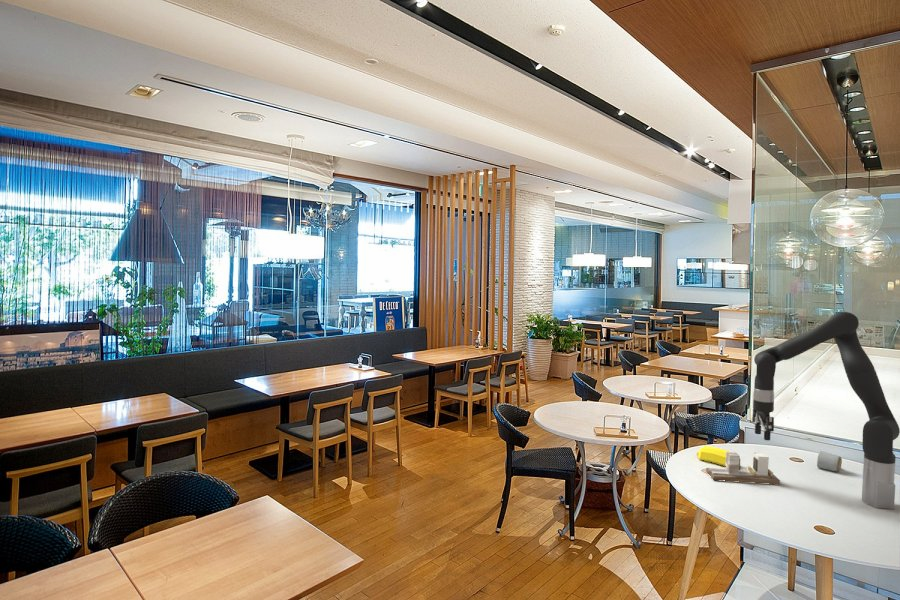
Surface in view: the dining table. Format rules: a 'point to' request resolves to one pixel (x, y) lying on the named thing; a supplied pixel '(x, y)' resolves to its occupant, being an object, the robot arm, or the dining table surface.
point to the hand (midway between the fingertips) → (762, 436)
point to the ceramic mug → (829, 461)
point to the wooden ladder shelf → (740, 472)
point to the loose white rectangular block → (760, 464)
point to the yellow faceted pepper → (712, 455)
